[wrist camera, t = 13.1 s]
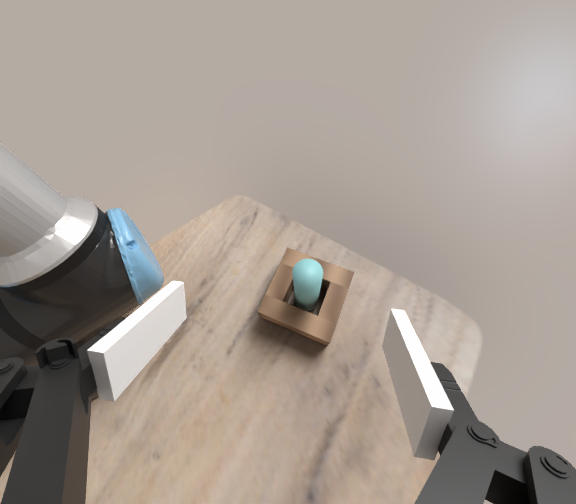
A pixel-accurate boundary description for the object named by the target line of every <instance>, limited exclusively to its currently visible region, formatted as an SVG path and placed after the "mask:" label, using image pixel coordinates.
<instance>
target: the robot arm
mask: <svg viewBox="0 0 576 504" xmlns="http://www.w3.org/2000/svg"><path fill="white" fill-rule="evenodd" d="M163 281H164V277H163V273H162V270H161V267H160V265H159V263H158V261H157V259H156V257H155V256H154V254H153V252H152V250H151V248H150V247H149V245H148V243H147V242H146V240H145V238H144V237H143V235H142V234H141V233H140V231H139V230H138V228H137V227H136V225H135V224H134V222H133V221H132V220H131V219H130V217H129V216H128V215H127V214H126V213H125V212H124V211H123V210H122V209H120V208H115V209H109V210H107V212H106V213H103V212H102V211H101V210H100V209H99V208H98V207H97V206H96V205H95V204H94V203H92V202H91V201H90V200H88V199H85V198H75V197H64V196H62V195H61V194H60V193H59V192H57V191H56V190H55V189H54V188H53V187H52V186H51V185H49V184H48V183H47V182H46V181H45V180H44V179H43V178H41V177H40V176H39V175H38V174H37V173H36V172H34V171H33V170H32V169H31V168H30V167H29V166H27V164H25V163H24V162H23V161H22V160H21V159H20V158H18V157H17V156H16V155H15V154H14V153H13V152H12V151H10V150H9V149H8V148H7V147H6V146H5V145H3V144H2V143H1V142H0V477H1V475H2V473H3V471H4V470H5V468H6V466H7V464H8V463H9V461H10V459H11V458H12V456H13V454H14V452H15V451H16V453H15V457H14V460H13V464H12V467H11V471H10V474H9V478H8V481H7V485H6V488H5V491H4V495H3V498H2V502H1V504H85V499H86V482H87V465H88V448H89V431H90V414H91V400H93V399H95V398H97V397H99V399H104V400H109V401H115V400H116V399H117V398H118V397H119V396H120V395H121V393H122V392H123V391H124V390H125V389H126V388H127V386H128V385H129V384H130V383H131V382H132V381H133V379H134V378H135V377H136V376H137V375H138V374H139V372H140V371H141V370H142V369H143V368H144V367H145V366H146V364H147V363H148V362H149V361H150V360H151V359H152V357H153V356H154V355H155V354H156V353H157V352H158V350H159V349H160V348H161V347H162V346H163V345H164V343H165V342H166V341H167V340H168V339H169V338H170V337H171V335H172V334H173V333H174V332H175V331H176V330H177V328H178V327H179V326H180V325H181V324H182V323H183V321H184V320H185V319H186V318H187V317H186V305H185V293H184V282H179V281H172V282H170V283H169V284H168V285H167V286H165V287H164V288H163V289H162V290H160V291H159V292H158V293H157V294H156V295H154V296H153V297H152V298H151V299H149V300H148V301H147V302H146V303H144V304H143V305H142V306H141V307H140V308H138V309H137V310H136V311H135V312H133V313H132V314H131V315H130V316H129V317H127V318H123V317H121V316H122V315H124V314H125V313H127V312H128V311H130V310H132V309H133V308H135V307H136V306H138V305H141V304H142V303H143V301H144V300H146V299H147V298H148V297H150V296H151V295H152V294H154V293H155V292H157V291H158V290H159V289H160V288H161V286H162V284H163ZM382 347H383V350H384V354H385V357H386V361H387V364H388V367H389V371H390V374H391V378H392V381H393V385H394V388H395V392H396V395H397V399H398V402H399V405H400V409H401V412H402V416H403V419H404V423H405V426H406V430H407V433H408V437H409V440H410V444H411V447H412V450H413V454H414V457H419V458H425V459H430V460H434V459H435V457H436V454H437V452H438V451H439V454H440V458H439V460H438V461H437V463H436V465H435V467H434V469H433V471H432V472H431V474H430V476H429V478H428V480H427V482H426V483H425V485H424V487H423V489H422V491H421V493H420V494H419V496H418V498H417V500H416V502H415V504H483V503H484V500H488V501H489V502H491V503H493V504H576V469H575V468H574V467H573V466H572V465H571V464H570V463H569V462H568V461H567V460H565V459H564V458H563V457H562V456H560V455H559V454H557V453H555V452H554V451H552V450H550V449H547V448H544V447H541V446H533V447H532V448H530V449H529V451H528V453H527V452H524V451H522V450H519V449H517V448H515V447H513V446H510V445H508V444H506V443H504V442H502V441H500V440H499V438H498V436H497V435H496V434H495V433H494V431H493V430H492V429H491V428H489V427H488V426H487V425H485V424H484V423H482V422H480V421H478V419H477V417H476V416H475V414H474V412H473V410H472V408H471V407H470V405H469V403H468V401H467V400H466V398H465V396H464V394H463V393H462V392H461V389H460V387H459V386H458V384H457V383H456V380H455V379H454V377H453V375H452V373H451V372H450V371H449V370H448V369H447V368H446V367H445V366H444V365H443V364H440V363H434V362H430V361H429V359H428V357H427V355H426V353H425V351H424V349H423V347H422V345H421V343H420V341H419V339H418V337H417V335H416V333H415V331H414V329H413V327H412V325H411V323H410V321H409V319H408V317H407V315H406V313H405V311H404V310H398V309H391V311H390V315H389V319H388V324H387V328H386V332H385V336H384V341H383V345H382ZM16 449H17V450H16Z"/></svg>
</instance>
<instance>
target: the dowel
mask: <svg viewBox="0 0 576 504" xmlns="http://www.w3.org/2000/svg"><path fill="white" fill-rule="evenodd" d="M292 275H293V284H294V293H295V302H296V305H297V307H298V308H300V309H302V310H304V311H311V310H313V309H314V308H315V307H316V306H317V303H318V298H319V293H320V288H321V283H322V278H323V269H322V267H321V265H320V264H319V263H318V262H317V261H315V260H313V259H302V260H300V261H298V262H297V263H296V264H295V266H294V267H293V271H292Z"/></svg>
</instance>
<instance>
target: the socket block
mask: <svg viewBox="0 0 576 504" xmlns="http://www.w3.org/2000/svg"><path fill="white" fill-rule="evenodd" d="M302 259H313V260H315V261H317V262H318V263H319V264H320V265H321V267H322V269H323V278H322V283H321V288H323V289H326V290H328V291H327V293H326V296H325V298H324V301H323V304H322V306H321V309H320V312H319V314H318V316H317V315H314V314H312V313H309V312H307V311H304V310H302V309H300V308H297V307H295V306H292V305H290V304H288V303H287V301H288V299H289V297H290V294H291V292H292V290H293V287H294V284H293V275H292V271H293V267H294V266H295V264H296V263H297V262H298V261H300V260H302ZM353 274H354V272H352V271H350V270H347V269H344V268H341V267H339V266H336V265H333V264H331V263H328V262H325V261H322V260H320V259H317V258H314V257H311V256H309V255H306V254H303V253H300V252H298V251H295V250H292V249H289V248H287V250H286V252H285V254H284V256H283V258H282V260H281V262H280V265H279V267H278V269H277V271H276V273H275V275H274V277H273V279H272V282H271V284H270V286H269V288H268V290H267V292H266V294H265V296H264V298H263V301H262V303H261V305H260V307H259V309H258V311H257V312H258V313H259V315H260V316H261V317H262V318H264V319H266V320H268V321H271V322H273V323H275V324H277V325H280V326H282V327H284V328H287V329H289V330H291V331H294V332H296V333H298V334H300V335H303V336H305V337H307V338H310V339H312V340H314V341H317V342H319V343H321V344H323V345H326V346H327V345H328V344H329V343H330V341H331V338H332V335H333V332H334V329H335V326H336V323H337V321H338V318H339V315H340V312H341V309H342V306H343V303H344V300H345V297H346V295H347V292H348V289H349V286H350V283H351V280H352V277H353Z"/></svg>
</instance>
